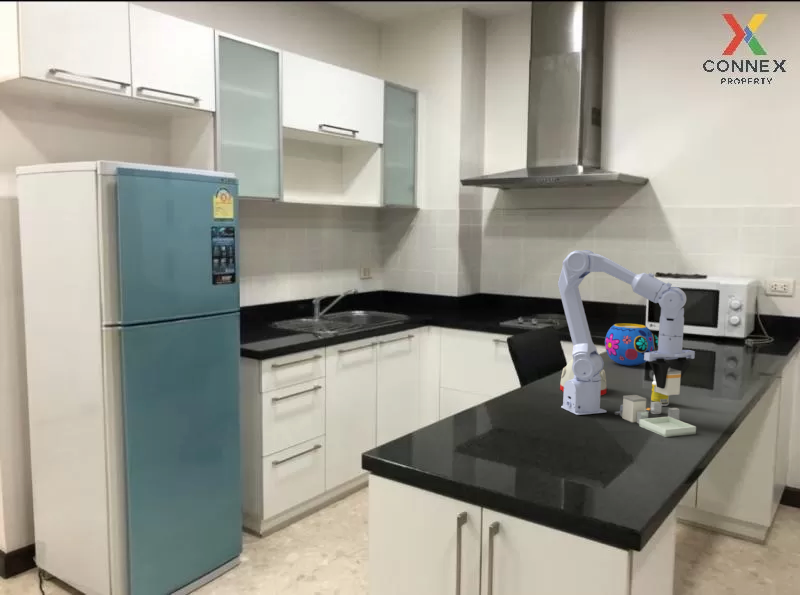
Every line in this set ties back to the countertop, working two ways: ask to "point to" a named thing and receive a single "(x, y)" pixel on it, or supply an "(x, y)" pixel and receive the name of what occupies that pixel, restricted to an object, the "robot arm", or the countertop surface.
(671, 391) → the white box with band
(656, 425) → the tray
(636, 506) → the countertop surface
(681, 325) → the robot arm
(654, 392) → the supplement bottle
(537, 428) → the countertop surface
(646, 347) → the ceramic pot
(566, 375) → the kitchen timer
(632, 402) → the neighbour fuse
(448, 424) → the countertop surface
